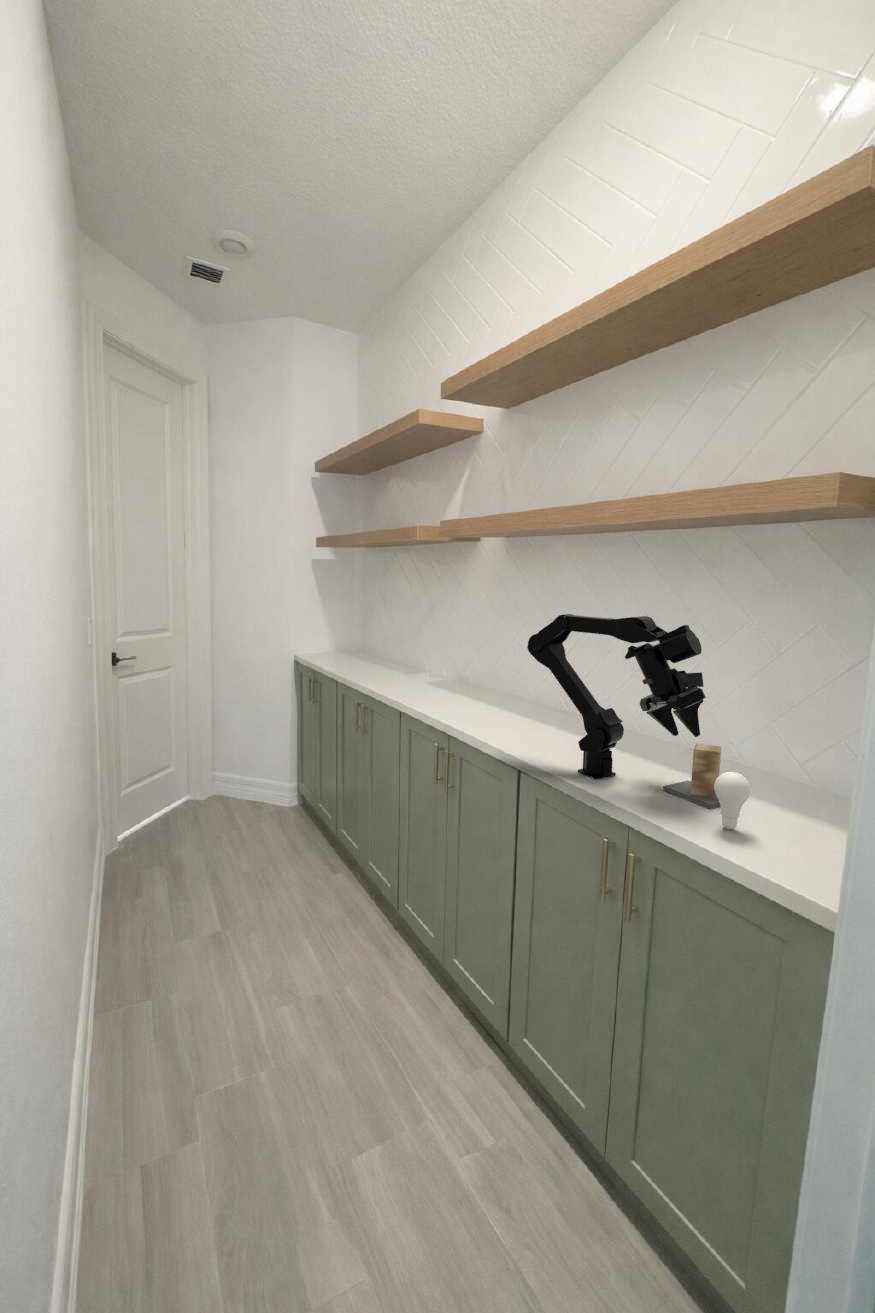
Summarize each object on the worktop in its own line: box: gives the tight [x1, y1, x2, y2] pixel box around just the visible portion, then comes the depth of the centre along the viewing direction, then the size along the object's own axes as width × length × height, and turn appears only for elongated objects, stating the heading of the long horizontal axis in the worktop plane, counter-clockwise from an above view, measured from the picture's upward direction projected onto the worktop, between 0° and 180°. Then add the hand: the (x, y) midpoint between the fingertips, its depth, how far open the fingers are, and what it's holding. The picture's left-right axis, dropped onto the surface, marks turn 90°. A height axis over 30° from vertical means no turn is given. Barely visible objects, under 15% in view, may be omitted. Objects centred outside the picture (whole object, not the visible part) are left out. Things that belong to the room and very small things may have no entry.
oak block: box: [690, 742, 722, 799], centre depth 128 cm, size 5×5×10 cm
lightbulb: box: [714, 771, 751, 830], centre depth 112 cm, size 6×6×11 cm
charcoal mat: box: [662, 780, 721, 810], centre depth 129 cm, size 12×8×1 cm, turn 29°
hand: (686, 735), depth 130 cm, fingers open, 9 cm apart
